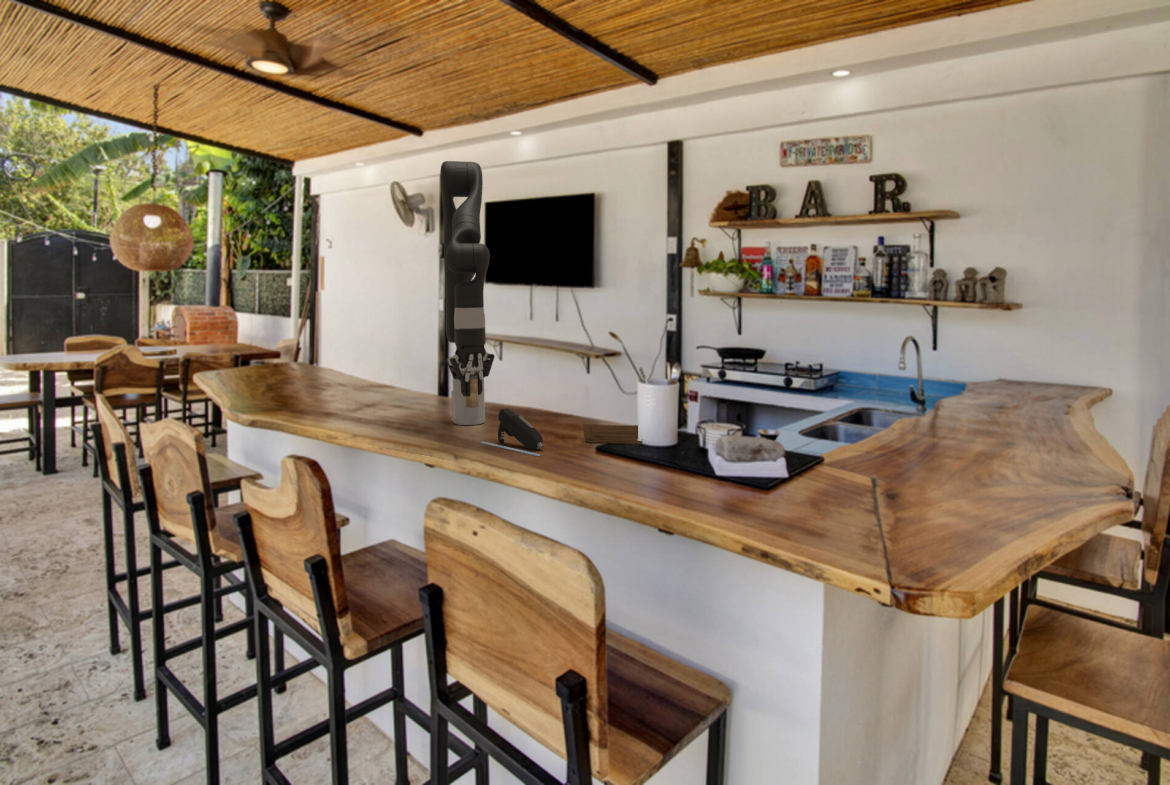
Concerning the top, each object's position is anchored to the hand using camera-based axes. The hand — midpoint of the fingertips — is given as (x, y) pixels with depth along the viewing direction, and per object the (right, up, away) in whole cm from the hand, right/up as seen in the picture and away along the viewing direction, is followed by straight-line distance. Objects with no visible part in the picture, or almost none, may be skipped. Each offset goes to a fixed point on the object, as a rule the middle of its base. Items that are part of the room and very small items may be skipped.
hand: (471, 395), depth 172 cm
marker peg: (0, -3, 0) cm, 3 cm away
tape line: (+9, -13, 0) cm, 16 cm away
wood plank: (+35, -13, +6) cm, 38 cm away
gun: (+12, -13, +3) cm, 18 cm away
